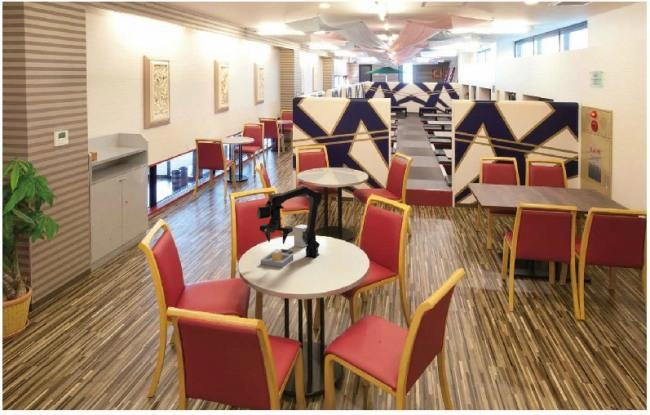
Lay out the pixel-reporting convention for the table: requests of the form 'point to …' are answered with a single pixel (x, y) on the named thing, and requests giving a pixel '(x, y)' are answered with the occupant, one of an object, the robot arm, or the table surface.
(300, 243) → the supplement box
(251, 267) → the table surface
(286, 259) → the tray
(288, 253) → the holder
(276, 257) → the white and orange block
